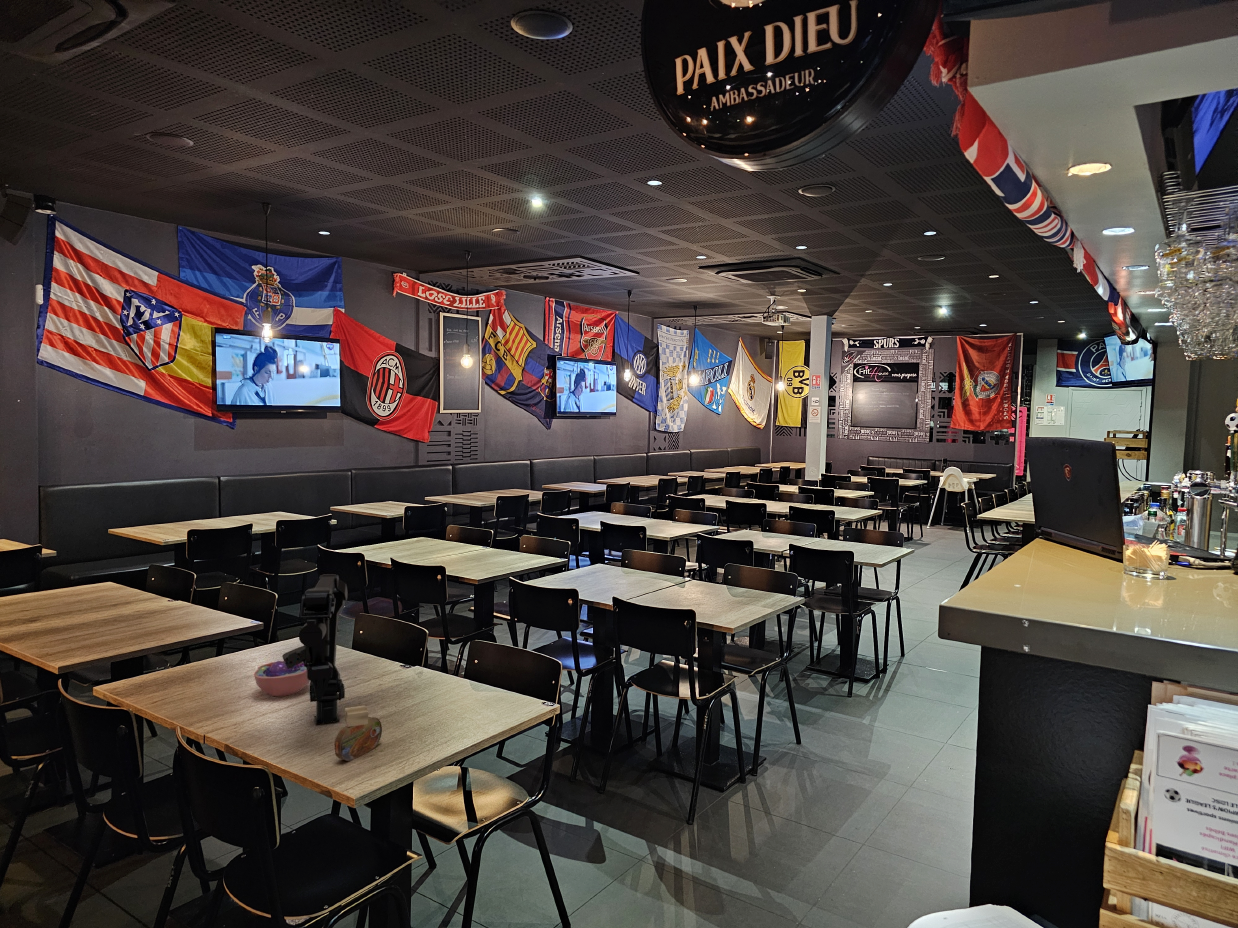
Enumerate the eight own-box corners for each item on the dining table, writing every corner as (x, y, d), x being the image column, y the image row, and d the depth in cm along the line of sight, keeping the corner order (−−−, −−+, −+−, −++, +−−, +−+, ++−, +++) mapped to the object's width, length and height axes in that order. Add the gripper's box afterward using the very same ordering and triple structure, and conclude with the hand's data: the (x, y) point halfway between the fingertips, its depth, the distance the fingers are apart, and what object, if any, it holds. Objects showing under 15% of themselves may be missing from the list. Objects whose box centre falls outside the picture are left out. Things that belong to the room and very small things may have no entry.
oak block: (344, 720, 193) (344, 708, 193) (364, 717, 195) (364, 705, 195) (347, 726, 188) (347, 714, 188) (368, 723, 191) (368, 711, 190)
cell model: (324, 684, 246) (324, 650, 246) (292, 705, 226) (292, 668, 226) (276, 682, 248) (276, 648, 248) (240, 702, 228) (240, 666, 228)
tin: (341, 766, 185) (341, 732, 184) (331, 763, 186) (332, 730, 186) (382, 744, 198) (383, 713, 198) (373, 742, 200) (373, 711, 199)
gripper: (282, 631, 203) (282, 687, 203) (286, 648, 186) (286, 710, 186) (326, 627, 208) (326, 682, 208) (333, 643, 191) (333, 703, 191)
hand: (317, 694), depth 198 cm, fingers open, 9 cm apart
